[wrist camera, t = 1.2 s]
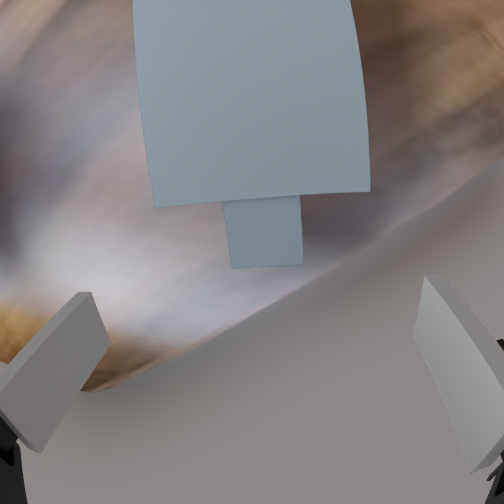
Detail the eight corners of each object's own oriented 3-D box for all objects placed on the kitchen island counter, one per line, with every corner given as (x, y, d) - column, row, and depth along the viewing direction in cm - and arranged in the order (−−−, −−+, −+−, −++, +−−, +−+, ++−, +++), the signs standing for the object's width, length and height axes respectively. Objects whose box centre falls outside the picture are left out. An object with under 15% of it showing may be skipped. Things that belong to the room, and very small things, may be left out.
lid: (184, 255, 25) (170, 275, 22) (150, -38, 15) (133, -55, 11) (357, 244, 23) (368, 263, 20) (320, -63, 13) (325, -85, 10)
